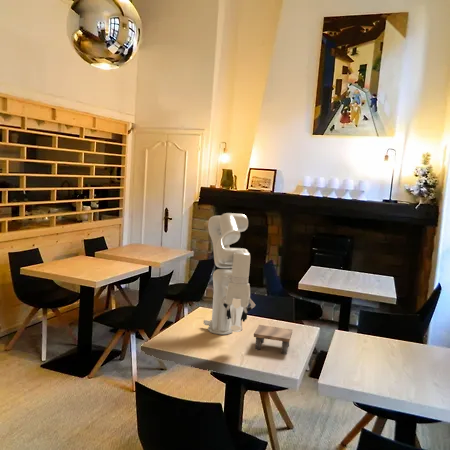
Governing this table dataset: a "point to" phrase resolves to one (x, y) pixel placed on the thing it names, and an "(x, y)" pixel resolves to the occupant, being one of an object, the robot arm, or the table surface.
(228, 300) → the robot arm
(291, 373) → the table surface
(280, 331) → the peg shelf
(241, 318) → the beer glass
